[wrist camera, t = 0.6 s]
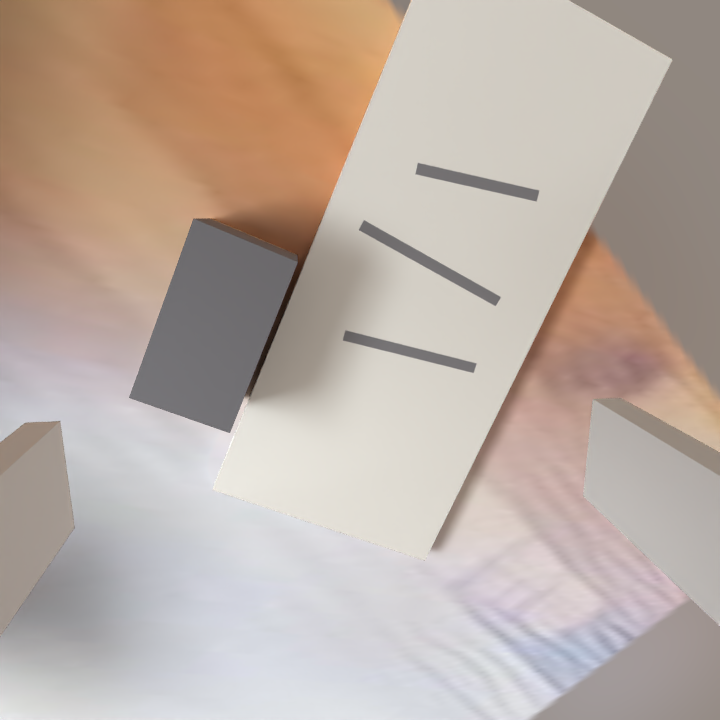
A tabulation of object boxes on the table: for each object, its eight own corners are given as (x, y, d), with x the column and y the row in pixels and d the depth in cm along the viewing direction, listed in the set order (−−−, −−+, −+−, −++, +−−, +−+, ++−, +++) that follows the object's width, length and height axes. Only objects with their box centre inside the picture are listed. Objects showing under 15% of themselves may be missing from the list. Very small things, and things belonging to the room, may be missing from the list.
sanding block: (157, 366, 33) (129, 397, 28) (211, 218, 32) (193, 218, 26) (240, 396, 34) (229, 433, 29) (297, 254, 33) (297, 262, 27)
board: (215, 481, 35) (212, 490, 34) (436, -61, 30) (441, -73, 28) (420, 550, 38) (424, 560, 37) (658, 65, 32) (672, 59, 31)
